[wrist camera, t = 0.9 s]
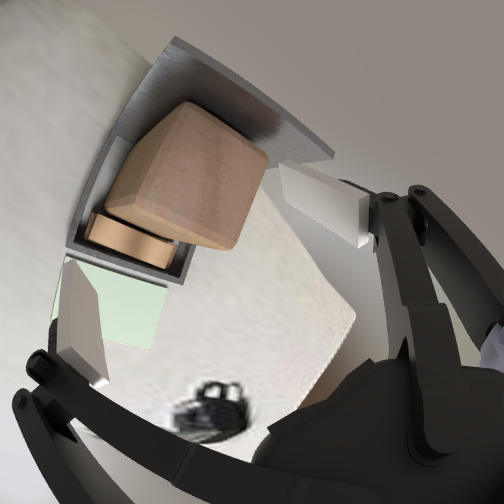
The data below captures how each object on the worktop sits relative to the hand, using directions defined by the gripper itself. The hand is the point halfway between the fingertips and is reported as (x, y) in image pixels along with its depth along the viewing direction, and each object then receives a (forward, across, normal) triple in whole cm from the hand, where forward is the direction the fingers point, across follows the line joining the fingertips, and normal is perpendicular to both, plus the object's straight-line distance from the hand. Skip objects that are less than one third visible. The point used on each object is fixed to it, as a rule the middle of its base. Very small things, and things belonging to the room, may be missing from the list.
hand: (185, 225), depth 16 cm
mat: (+19, -13, -16) cm, 28 cm away
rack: (+24, -2, -7) cm, 26 cm away
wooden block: (+25, -1, -6) cm, 26 cm away
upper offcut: (+21, -6, -9) cm, 23 cm away
